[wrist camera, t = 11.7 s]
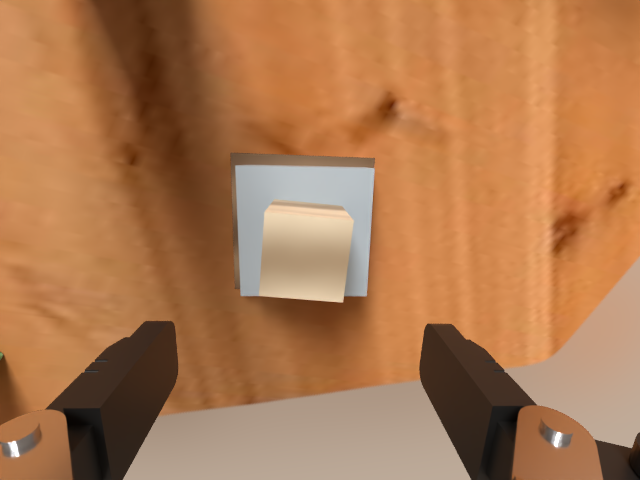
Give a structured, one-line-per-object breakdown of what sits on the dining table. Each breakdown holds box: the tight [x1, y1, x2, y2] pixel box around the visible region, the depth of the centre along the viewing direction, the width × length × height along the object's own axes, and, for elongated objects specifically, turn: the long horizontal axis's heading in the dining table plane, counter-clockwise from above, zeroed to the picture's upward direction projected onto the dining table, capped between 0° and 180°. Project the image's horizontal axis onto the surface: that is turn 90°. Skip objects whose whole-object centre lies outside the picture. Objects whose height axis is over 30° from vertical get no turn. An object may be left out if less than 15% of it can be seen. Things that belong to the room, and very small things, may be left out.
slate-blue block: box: [235, 165, 375, 296], centre depth 26 cm, size 10×10×4 cm
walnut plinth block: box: [231, 153, 375, 289], centre depth 30 cm, size 12×12×4 cm
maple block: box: [259, 199, 354, 303], centre depth 21 cm, size 5×5×6 cm
